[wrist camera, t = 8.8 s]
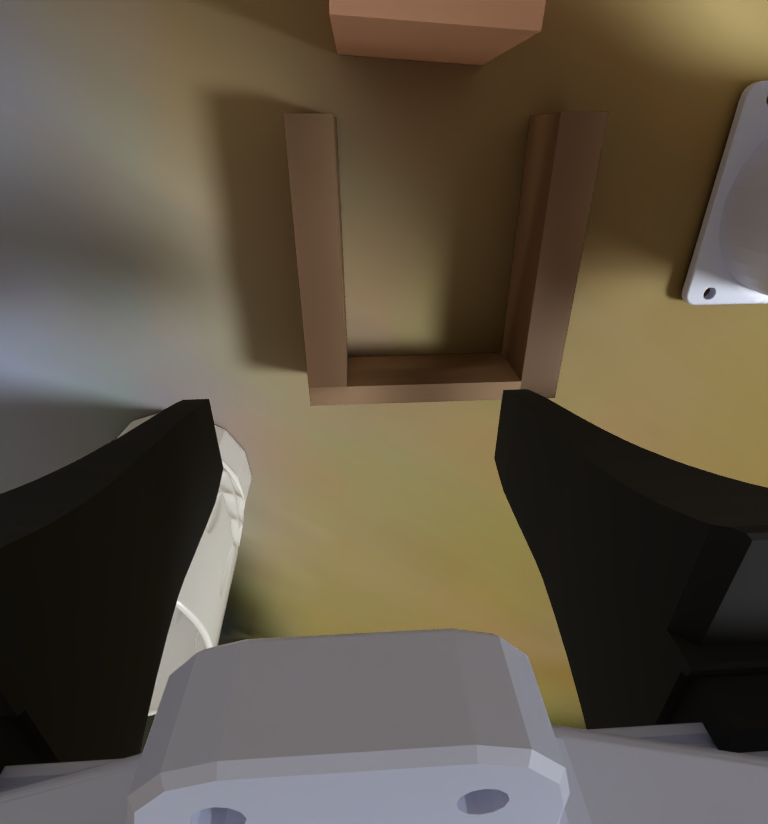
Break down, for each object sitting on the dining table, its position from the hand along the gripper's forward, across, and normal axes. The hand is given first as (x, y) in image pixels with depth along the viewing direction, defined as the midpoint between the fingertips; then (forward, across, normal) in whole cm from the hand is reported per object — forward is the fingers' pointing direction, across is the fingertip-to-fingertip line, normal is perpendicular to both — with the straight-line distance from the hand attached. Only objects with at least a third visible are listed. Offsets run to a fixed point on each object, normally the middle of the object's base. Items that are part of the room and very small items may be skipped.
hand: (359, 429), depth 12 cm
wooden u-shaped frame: (+10, -3, -2) cm, 11 cm away
